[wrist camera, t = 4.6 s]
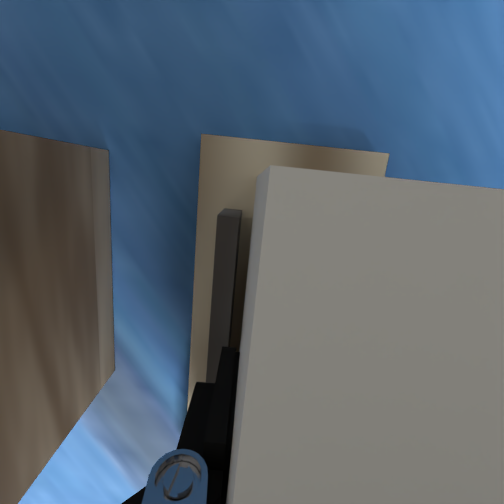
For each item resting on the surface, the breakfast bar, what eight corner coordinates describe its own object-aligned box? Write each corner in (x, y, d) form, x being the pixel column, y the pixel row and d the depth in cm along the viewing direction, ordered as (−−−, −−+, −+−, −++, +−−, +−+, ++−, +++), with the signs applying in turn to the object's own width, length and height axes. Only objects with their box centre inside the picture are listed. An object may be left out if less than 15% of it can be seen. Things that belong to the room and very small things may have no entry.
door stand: (377, 155, 13) (423, 147, 10) (316, 456, 18) (332, 527, 14) (205, 137, 13) (187, 122, 9) (189, 445, 18) (172, 514, 14)
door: (238, 174, 12) (129, 150, 2) (325, 183, 12) (782, 219, 2) (215, 446, 16) (137, 978, 5) (281, 452, 16) (334, 989, 5)
